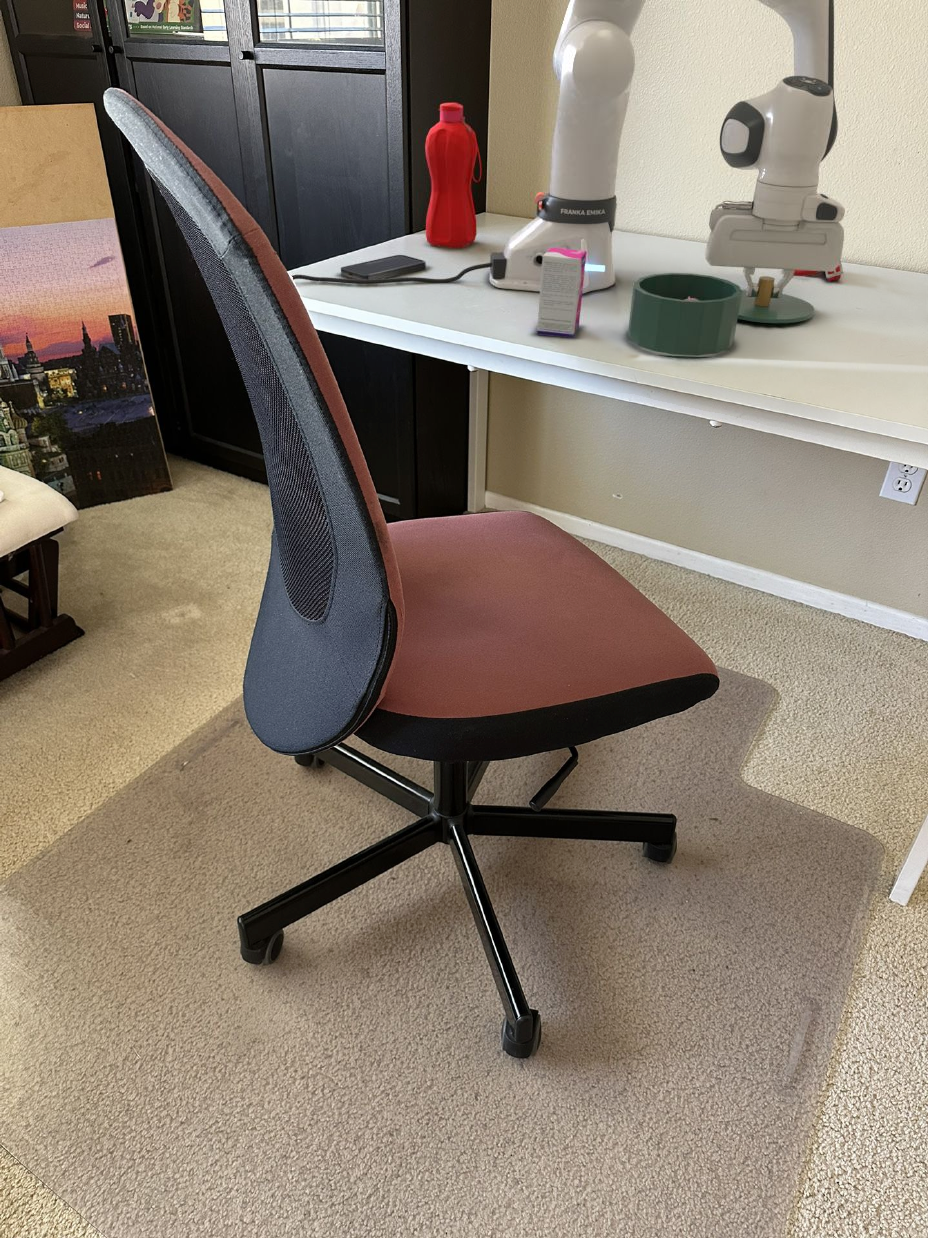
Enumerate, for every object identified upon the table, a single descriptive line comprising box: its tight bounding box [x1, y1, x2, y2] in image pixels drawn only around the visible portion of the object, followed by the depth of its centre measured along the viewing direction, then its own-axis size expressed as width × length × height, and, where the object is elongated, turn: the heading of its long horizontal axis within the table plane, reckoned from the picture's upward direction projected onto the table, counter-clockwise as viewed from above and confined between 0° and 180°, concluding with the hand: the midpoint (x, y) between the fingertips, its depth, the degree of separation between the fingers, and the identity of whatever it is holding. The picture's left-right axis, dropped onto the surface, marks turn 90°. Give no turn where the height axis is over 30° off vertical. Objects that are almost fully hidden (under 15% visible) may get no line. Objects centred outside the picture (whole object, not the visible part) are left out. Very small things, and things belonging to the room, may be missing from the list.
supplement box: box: [536, 248, 587, 339], centre depth 135 cm, size 6×6×12 cm
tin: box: [627, 272, 743, 360], centre depth 132 cm, size 15×15×8 cm
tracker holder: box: [793, 260, 844, 282], centre depth 164 cm, size 12×4×10 cm
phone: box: [340, 254, 427, 280], centre depth 165 cm, size 8×1×15 cm
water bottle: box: [424, 102, 482, 249], centre depth 176 cm, size 9×11×25 cm
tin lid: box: [737, 275, 815, 324], centre depth 143 cm, size 16×16×5 cm
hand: (763, 296), depth 144 cm, fingers closed on tin lid, 2 cm apart
